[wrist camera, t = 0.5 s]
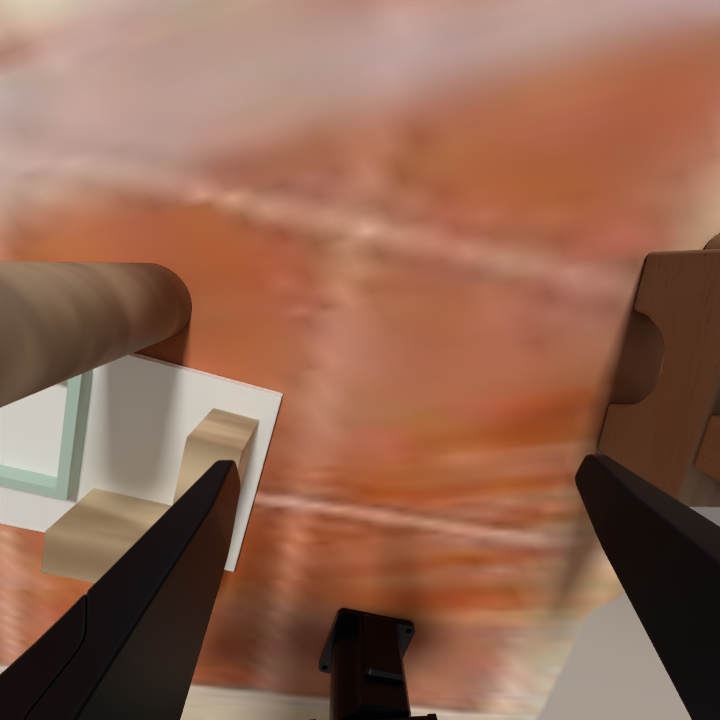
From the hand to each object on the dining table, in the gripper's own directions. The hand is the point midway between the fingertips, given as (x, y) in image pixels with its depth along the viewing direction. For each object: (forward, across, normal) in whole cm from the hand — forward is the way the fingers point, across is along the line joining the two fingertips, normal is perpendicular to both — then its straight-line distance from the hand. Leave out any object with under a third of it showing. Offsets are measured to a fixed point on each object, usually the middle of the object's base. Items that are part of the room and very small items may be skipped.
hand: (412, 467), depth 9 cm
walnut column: (+14, +13, +2) cm, 20 cm away
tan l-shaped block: (+11, +14, +12) cm, 22 cm away
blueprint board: (+12, +18, +11) cm, 24 cm away
